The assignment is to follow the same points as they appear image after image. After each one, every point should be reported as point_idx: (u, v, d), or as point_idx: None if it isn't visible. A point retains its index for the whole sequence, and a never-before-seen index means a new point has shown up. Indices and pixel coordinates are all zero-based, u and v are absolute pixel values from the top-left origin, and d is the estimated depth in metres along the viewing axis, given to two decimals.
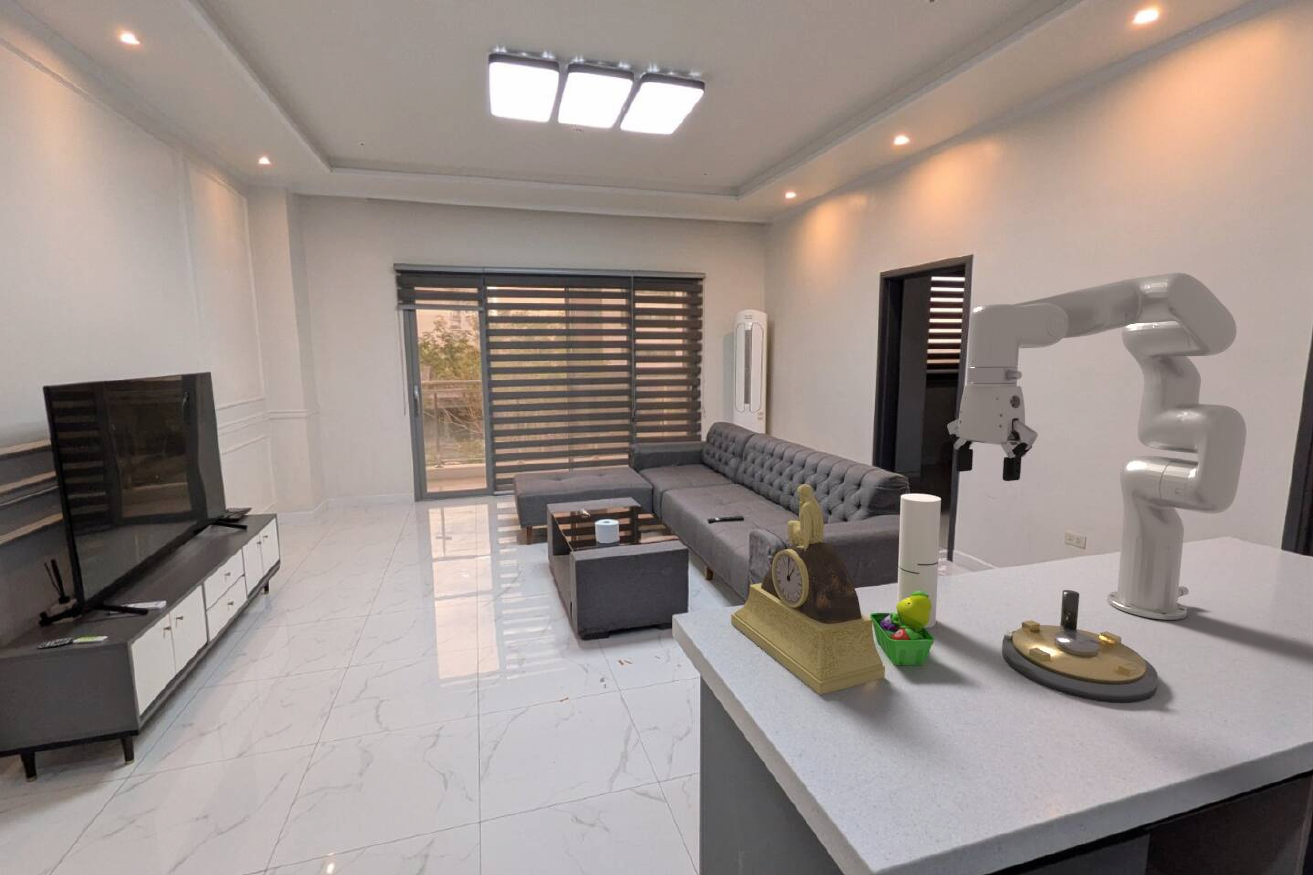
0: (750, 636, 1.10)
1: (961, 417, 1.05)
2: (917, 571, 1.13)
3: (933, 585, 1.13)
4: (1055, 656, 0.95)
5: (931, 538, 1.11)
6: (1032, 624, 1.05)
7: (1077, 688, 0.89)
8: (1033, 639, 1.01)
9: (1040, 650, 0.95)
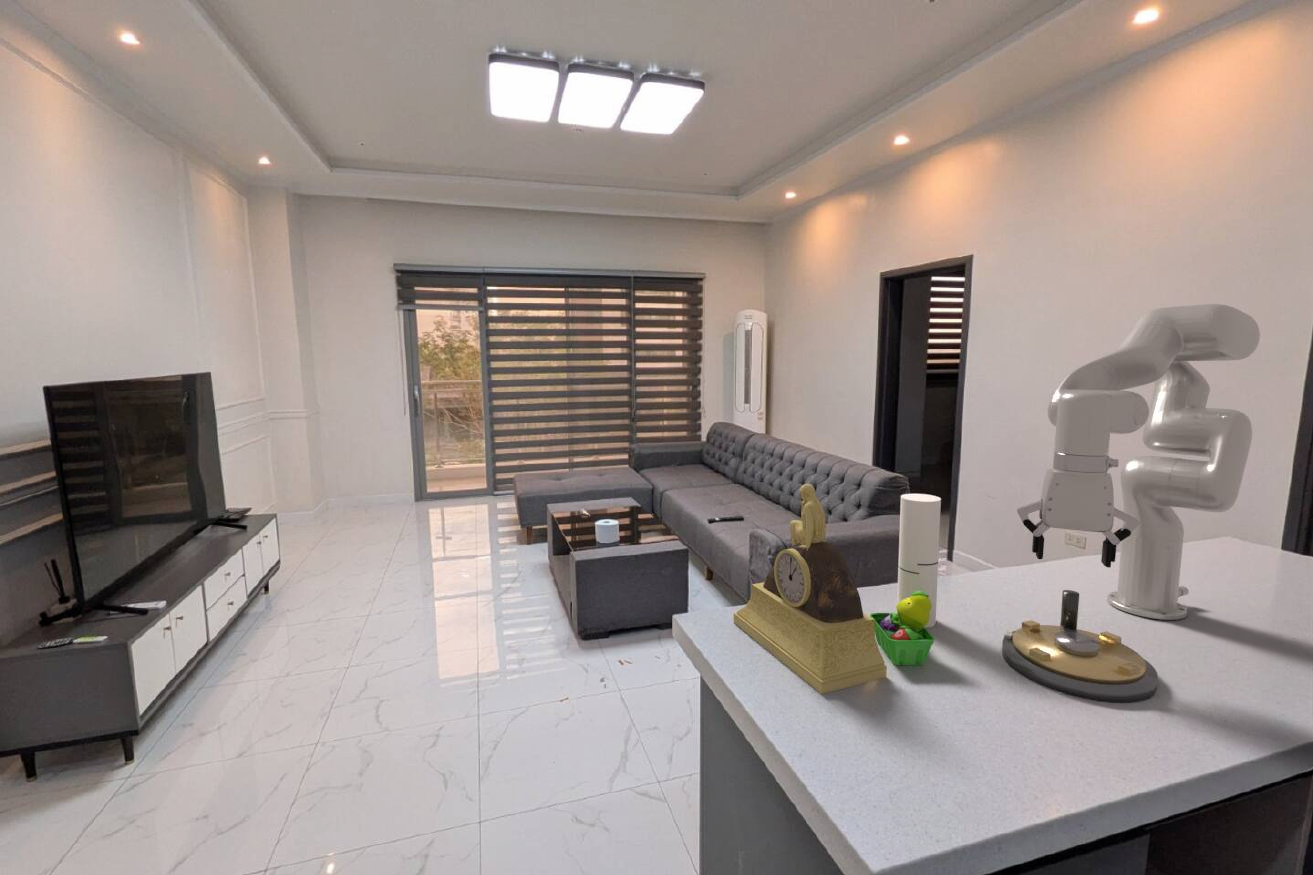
0: (752, 635, 1.10)
1: (1051, 504, 1.01)
2: (917, 571, 1.13)
3: (933, 585, 1.13)
4: (1055, 656, 0.95)
5: (931, 538, 1.11)
6: (1032, 624, 1.05)
7: (1077, 688, 0.89)
8: (1033, 639, 1.01)
9: (1040, 650, 0.95)
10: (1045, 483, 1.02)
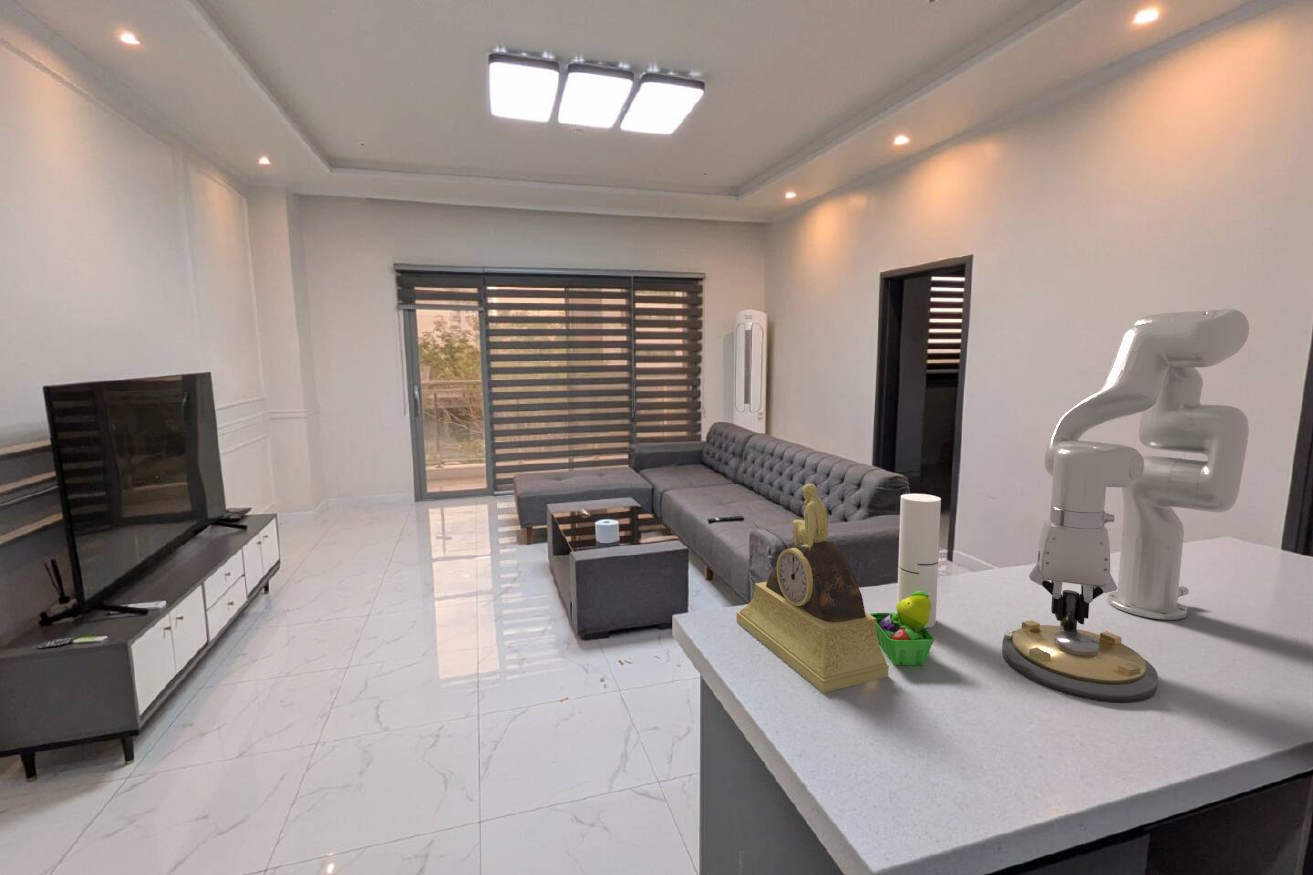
0: (755, 634, 1.11)
1: (1048, 558, 1.02)
2: (917, 571, 1.13)
3: (933, 585, 1.13)
4: (1055, 656, 0.95)
5: (931, 538, 1.12)
6: (1032, 624, 1.05)
7: (1077, 688, 0.89)
8: (1033, 639, 1.01)
9: (1040, 650, 0.95)
10: (1042, 536, 1.04)
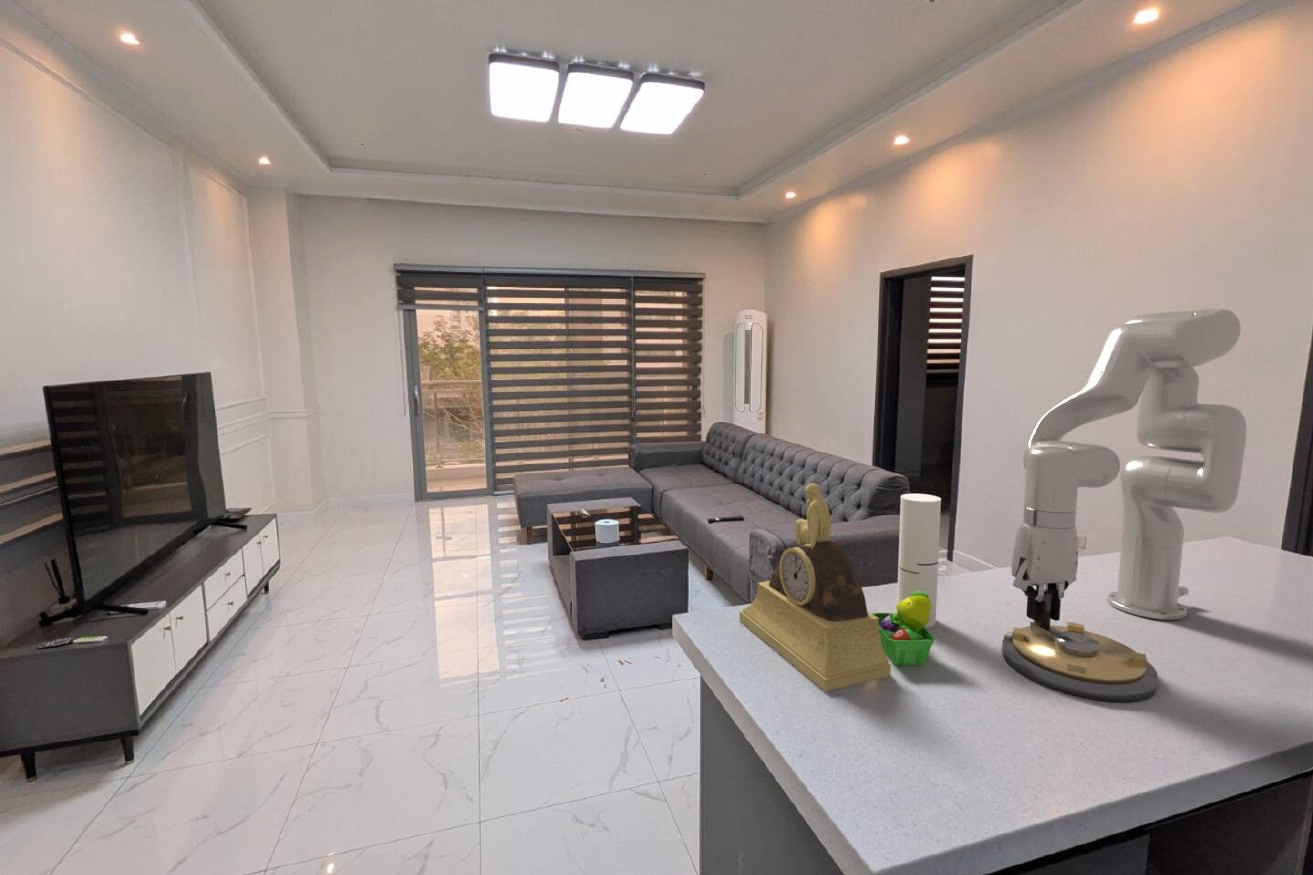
0: (758, 633, 1.11)
1: (1039, 563, 1.00)
2: (917, 571, 1.13)
3: (933, 585, 1.13)
4: None
5: (931, 538, 1.11)
6: (1022, 632, 1.02)
7: (1077, 688, 0.89)
8: (1040, 649, 0.97)
9: (1075, 662, 0.91)
10: (1027, 541, 1.01)
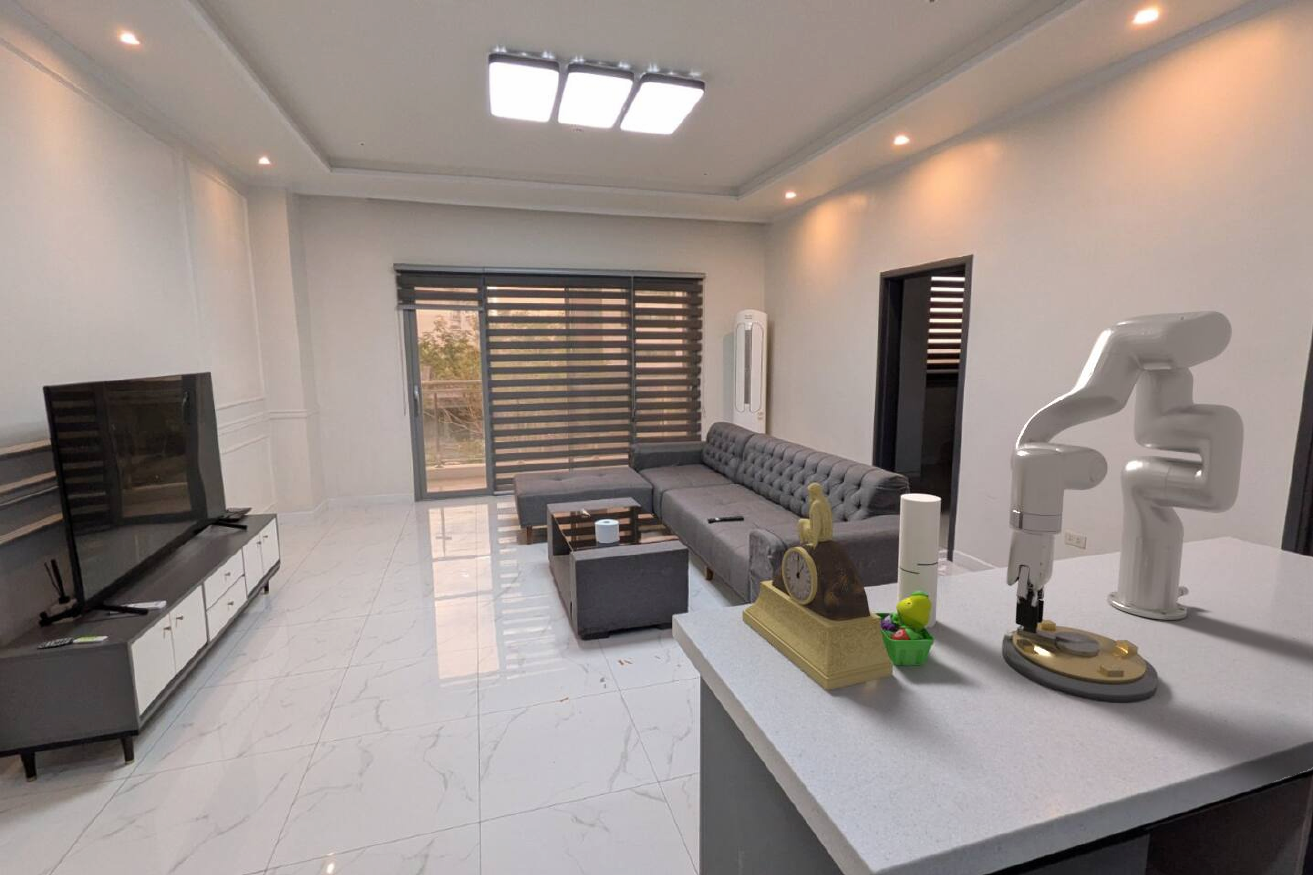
0: (760, 632, 1.12)
1: (1041, 569, 0.97)
2: (917, 571, 1.13)
3: (933, 585, 1.13)
4: None
5: (931, 538, 1.11)
6: (1029, 643, 0.98)
7: (1077, 688, 0.89)
8: (1060, 659, 0.94)
9: (1109, 667, 0.90)
10: (1028, 548, 0.97)
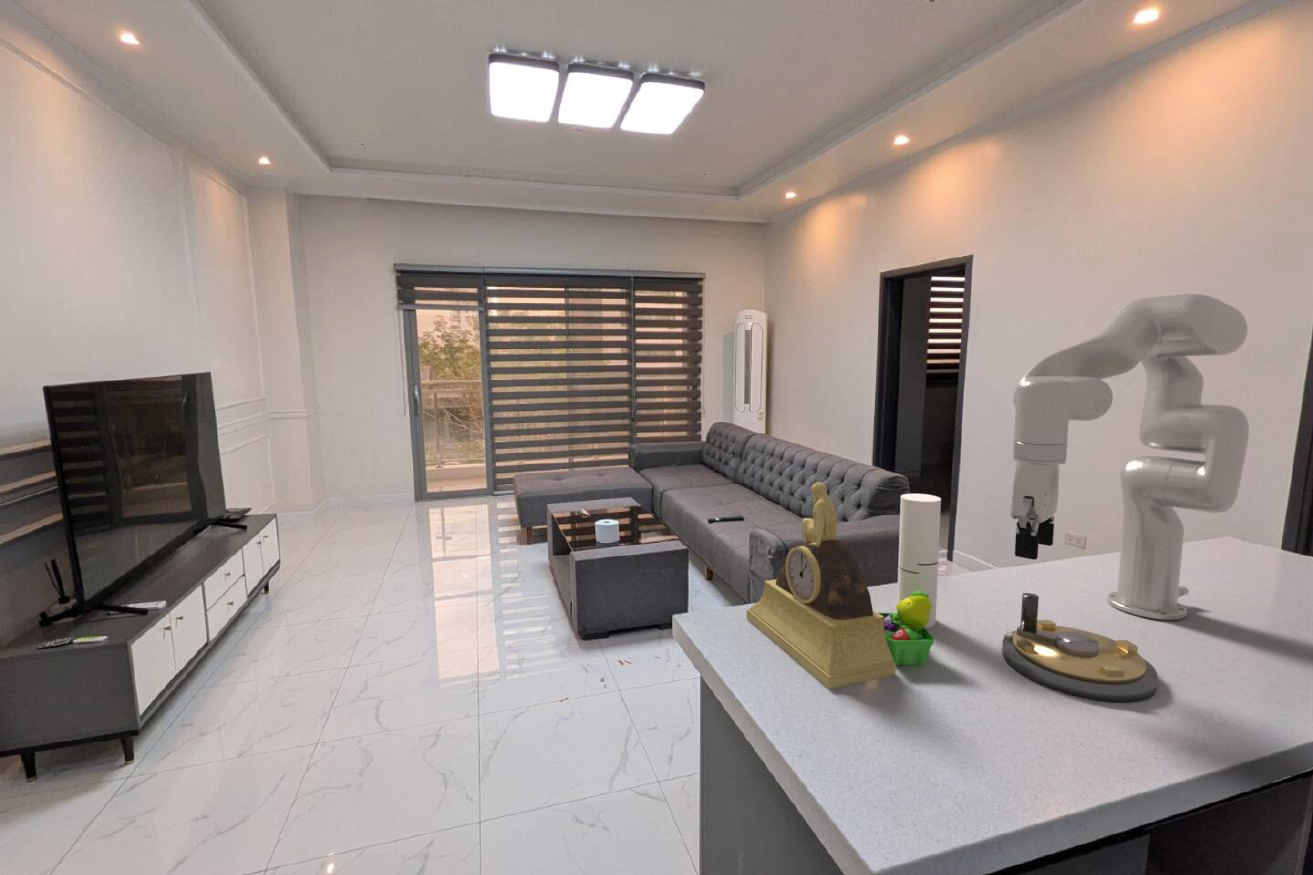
0: (764, 631, 1.12)
1: (1045, 499, 0.95)
2: (917, 571, 1.13)
3: (933, 585, 1.13)
4: None
5: (931, 538, 1.11)
6: (1029, 643, 0.98)
7: (1077, 688, 0.89)
8: (1060, 659, 0.94)
9: (1109, 667, 0.90)
10: (1033, 478, 0.96)
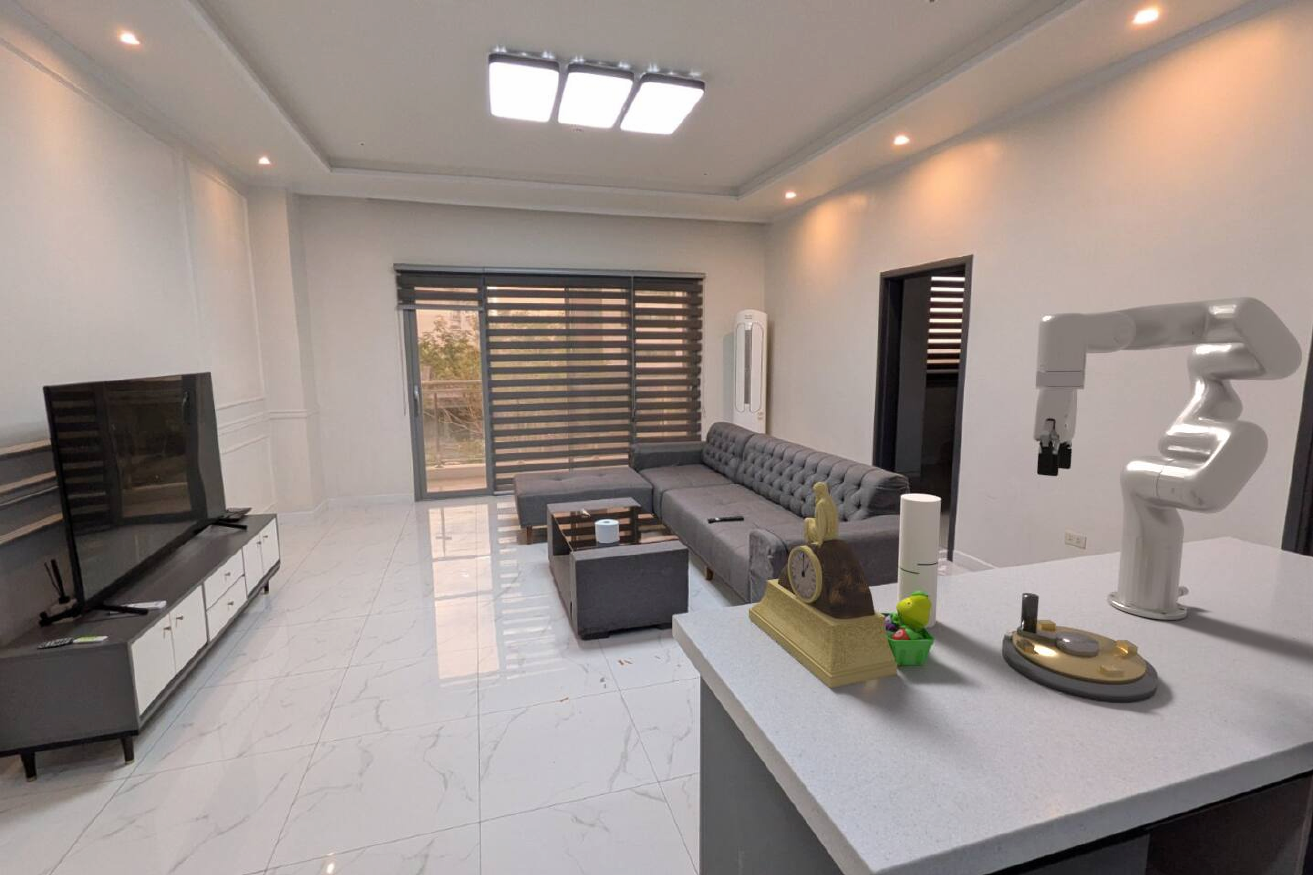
0: (766, 630, 1.12)
1: (1066, 421, 1.06)
2: (917, 571, 1.13)
3: (933, 585, 1.13)
4: None
5: (931, 538, 1.11)
6: (1029, 643, 0.98)
7: (1077, 688, 0.89)
8: (1060, 659, 0.94)
9: (1109, 667, 0.90)
10: (1054, 402, 1.06)
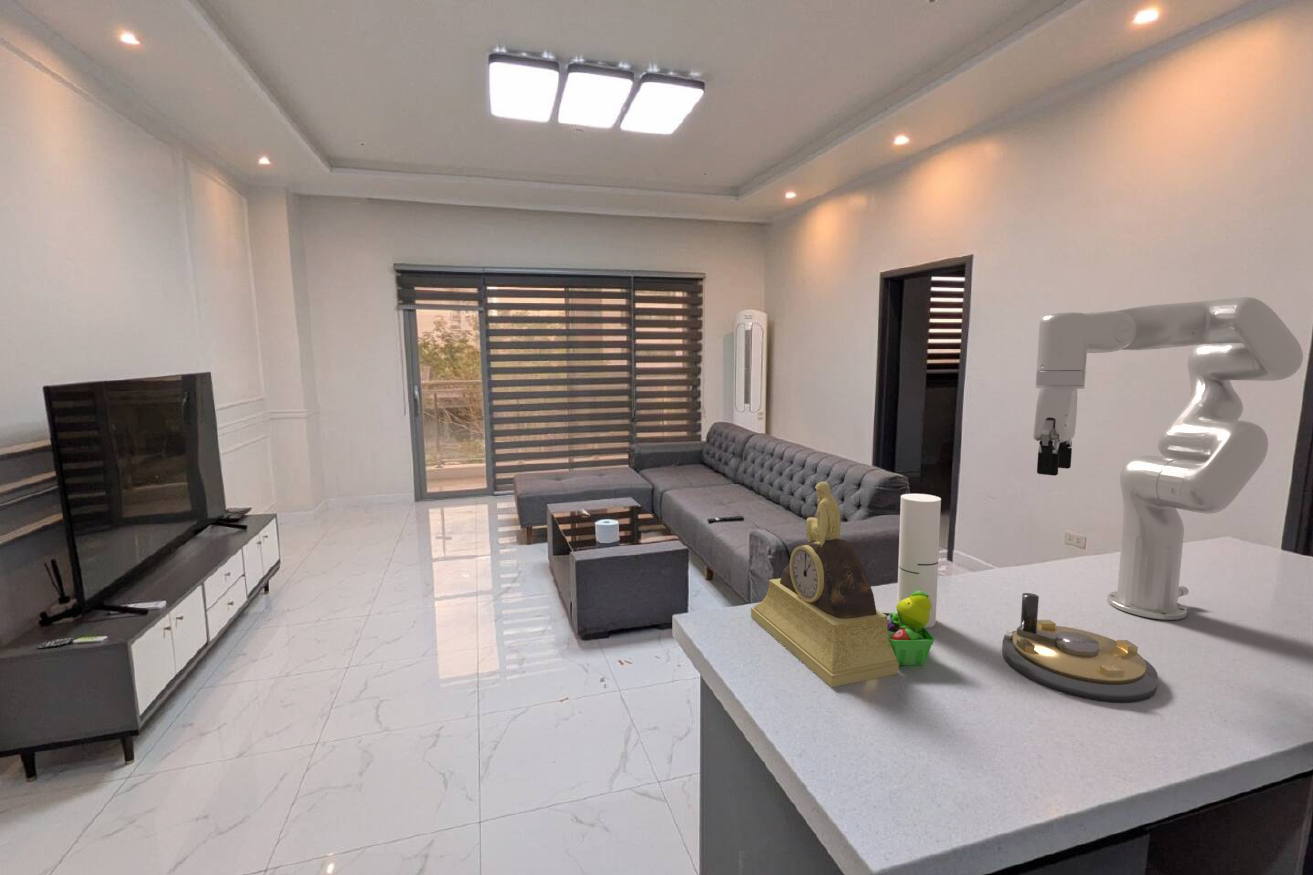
0: (768, 629, 1.13)
1: (1066, 420, 1.06)
2: (917, 571, 1.13)
3: (933, 585, 1.13)
4: None
5: (931, 538, 1.11)
6: (1029, 643, 0.98)
7: (1077, 688, 0.89)
8: (1060, 659, 0.94)
9: (1109, 667, 0.90)
10: (1054, 401, 1.06)
